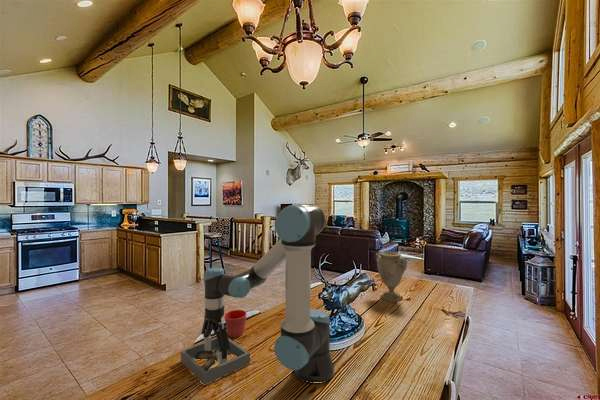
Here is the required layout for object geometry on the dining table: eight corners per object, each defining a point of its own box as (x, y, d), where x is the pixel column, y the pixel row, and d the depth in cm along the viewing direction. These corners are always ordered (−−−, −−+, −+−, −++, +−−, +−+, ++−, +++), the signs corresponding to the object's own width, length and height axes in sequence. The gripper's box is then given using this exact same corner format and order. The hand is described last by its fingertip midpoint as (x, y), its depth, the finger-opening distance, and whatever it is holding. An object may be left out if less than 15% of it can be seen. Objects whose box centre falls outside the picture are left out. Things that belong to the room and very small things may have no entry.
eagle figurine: (209, 353, 119) (190, 360, 112) (217, 341, 118) (199, 346, 111) (217, 369, 115) (199, 377, 108) (226, 356, 114) (208, 363, 106)
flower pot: (224, 340, 133) (224, 320, 133) (224, 330, 144) (224, 310, 144) (247, 337, 136) (247, 317, 136) (245, 327, 147) (245, 308, 147)
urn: (367, 296, 191) (367, 252, 191) (384, 290, 202) (384, 248, 202) (398, 307, 172) (398, 258, 172) (415, 300, 183) (415, 254, 182)
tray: (250, 364, 114) (249, 353, 114) (203, 386, 101) (203, 374, 101) (223, 344, 130) (223, 334, 130) (180, 361, 116) (180, 350, 116)
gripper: (238, 312, 109) (239, 368, 109) (209, 296, 127) (210, 344, 127) (220, 318, 104) (221, 376, 104) (193, 301, 121) (193, 350, 122)
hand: (215, 359), depth 115 cm, fingers open, 12 cm apart
